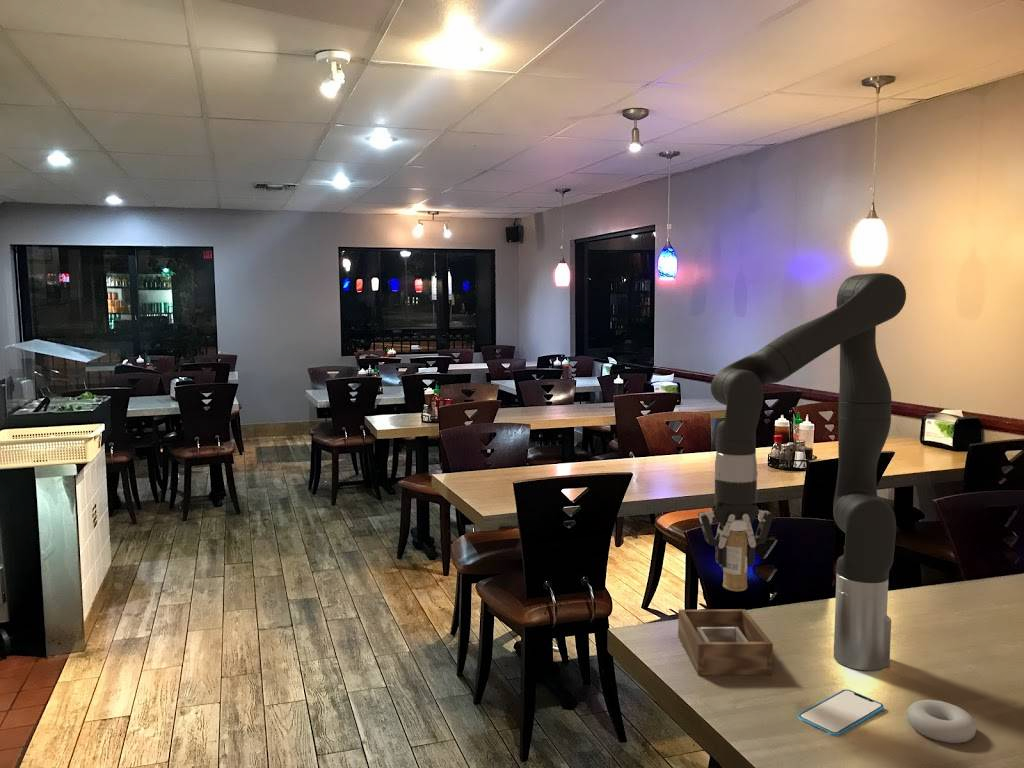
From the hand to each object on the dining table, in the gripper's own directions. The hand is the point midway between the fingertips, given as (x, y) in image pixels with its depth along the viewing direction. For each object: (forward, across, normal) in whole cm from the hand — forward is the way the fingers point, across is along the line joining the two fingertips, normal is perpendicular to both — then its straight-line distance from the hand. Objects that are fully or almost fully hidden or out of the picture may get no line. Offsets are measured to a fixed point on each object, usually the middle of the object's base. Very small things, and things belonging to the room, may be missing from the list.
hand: (734, 565), depth 144 cm
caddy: (+21, 0, -8) cm, 22 cm away
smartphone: (+22, -14, +15) cm, 30 cm away
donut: (+22, -28, +21) cm, 41 cm away
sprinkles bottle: (+4, 0, 0) cm, 4 cm away
